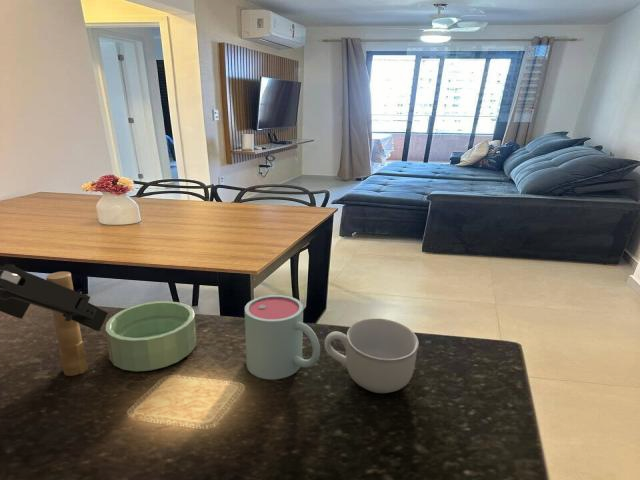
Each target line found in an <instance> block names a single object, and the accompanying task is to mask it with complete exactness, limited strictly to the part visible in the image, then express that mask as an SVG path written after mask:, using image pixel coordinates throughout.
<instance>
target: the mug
mask: <svg viewBox="0 0 640 480" xmlns="http://www.w3.org/2000/svg"><path fill="white" fill-rule="evenodd" d="M244 328H245V329H244V331H245V336H244V337H245V363H246V364H245V365H246V369H247V371H248V372H249V373H250V374H251V375H253V376H254V377H257V378H260V379H264V380H280V379H284V378H288V377H290V376H292V375H294V374H295V373H297V372H298V371H299V370H300V369H301V367H302V368H311V367H313V366H315V365H316V364H317V363H318V361H319V359H320V355H321V345H320V341H319V338H318V336H317V334H316V332H314V330H313V329H312V327H310V326H309V325H308V324H306V323H304V305H303V303H302V302H301V301H300V300H299V299H297V298H295V297H292V296H289V295H283V294H269V295H263V296H259V297H256V298H254V299H252V300H250V301H248V302H247V303H246V305H245V306H244ZM303 333H304V335H305V336H306V337H307V338H308V339H309V342H310V344H311V348H312V354H311V357H310V358H309V359H304V358H303V341H304V339H303V337H304V335H303Z"/></svg>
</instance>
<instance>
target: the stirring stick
mask: <svg viewBox="0 0 640 480" xmlns="http://www.w3.org/2000/svg"><path fill="white" fill-rule="evenodd" d="M45 280H48V281H51V282H53V283H56V284H58V285H61V286H63V287H66V288H69V289H71V290H74V285H73V279H72V273H71V272H70V271H56V272H53V273H50V274H48V275H46V276H45ZM51 311H52V317H53V323H54V327H55V333H56V334H55V335H56V338H57V346H58V347H57V348H58V353H59V357H60V363H61V368H62V371H63V374H64V376H68V377H73V376H77V375H82V374H84V373H86V372H87V371H88V369H89V367H88V363H87V355H86V350H85V345H84V341H83V339H82V338H83V337H82V332H81V327H80V323H78V322H76V321H73V320H71V321H65V318H66V317H64V316H63V313H60V312H56V311H53V310H51Z"/></svg>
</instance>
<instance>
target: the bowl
mask: <svg viewBox="0 0 640 480" xmlns="http://www.w3.org/2000/svg"><path fill="white" fill-rule="evenodd" d="M196 327H197V326H196V314H195V312H194V309H193V308H192V307H191V306H190V305H188V304H186V303H183V302H179V301H171V300H162V301H161V300H160V301H151V302H144V303H140V304H136V305H133V306H130V307H127V308H125V309H123V310H120V311H119V312H117V313H115V314H114V315H113V316H111V317H110V318H109V319H108V320H107V322H106V323H105V336H106V343H107V350H108V351H107V352H108V358H109V361H110V362H111V364H112V365H113V366H114V367H117V368H119V369H121V370H123V371H130V372H147V371H148V372H149V371H153V370H158V369H163V368H166V367H169V366H171V365H174V364H176V363H179V362H180V361H182V360H183V359H185V358H186V357H188V356H189V355H190V354H191V353H192V352H193V351H194V350H195V347H196V345H197V331H196V330H197V328H196Z"/></svg>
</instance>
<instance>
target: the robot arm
mask: <svg viewBox="0 0 640 480" xmlns="http://www.w3.org/2000/svg"><path fill="white" fill-rule="evenodd" d="M90 300H91V296H89V295H88V294H85V293H82V292H79V291H77V290H74V289H73V290H71V289H69V288H66V287H63V286H61V285H58V284H56V283H53V282H51V281H48V280H46V278H42V277H41V276H37V275H36V274H32V273H31V272H28V271H25V270H23V269H21V268H19V267H17V266H16V265H15V264H12V263H5V264H4V265H0V312H1V313H4V314H6V315H9V316H12V317H14V318H17V319H23V318H24V316H25V314H26V312H27V311H28V309H29V307H30V305H34V306H37V307H40V308H44V309H47V310H50V311H52V310H53V311H56V312H60V313H63V316H64V317H66V318H65V321H71V320H73V321H76V322H78V323H79V325H83V326H84V327H87V328H89V329H91V330H93V331H97V332H100V331H101V328H102V327H103V325H104V323H105V321H106V318H107V316H108V313H109V312H107V311H106V310H103V309H102V308H99V307H98V306H97V305H94V304H93V303H90Z"/></svg>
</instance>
